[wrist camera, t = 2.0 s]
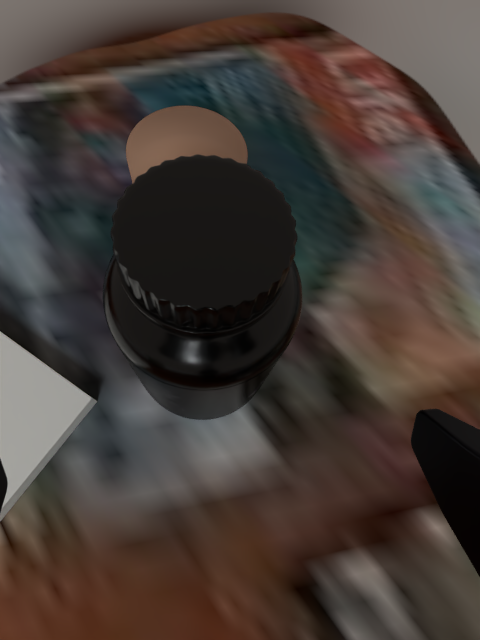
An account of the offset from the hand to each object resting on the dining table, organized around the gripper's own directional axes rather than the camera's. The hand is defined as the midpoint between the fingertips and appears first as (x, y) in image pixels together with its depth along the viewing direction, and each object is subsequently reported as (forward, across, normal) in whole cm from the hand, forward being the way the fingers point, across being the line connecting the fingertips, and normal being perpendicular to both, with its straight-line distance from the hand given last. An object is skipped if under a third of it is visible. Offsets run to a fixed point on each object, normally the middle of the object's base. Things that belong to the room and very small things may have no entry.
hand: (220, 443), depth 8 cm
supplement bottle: (+12, 0, +5) cm, 13 cm away
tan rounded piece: (+18, 0, -2) cm, 18 cm away
